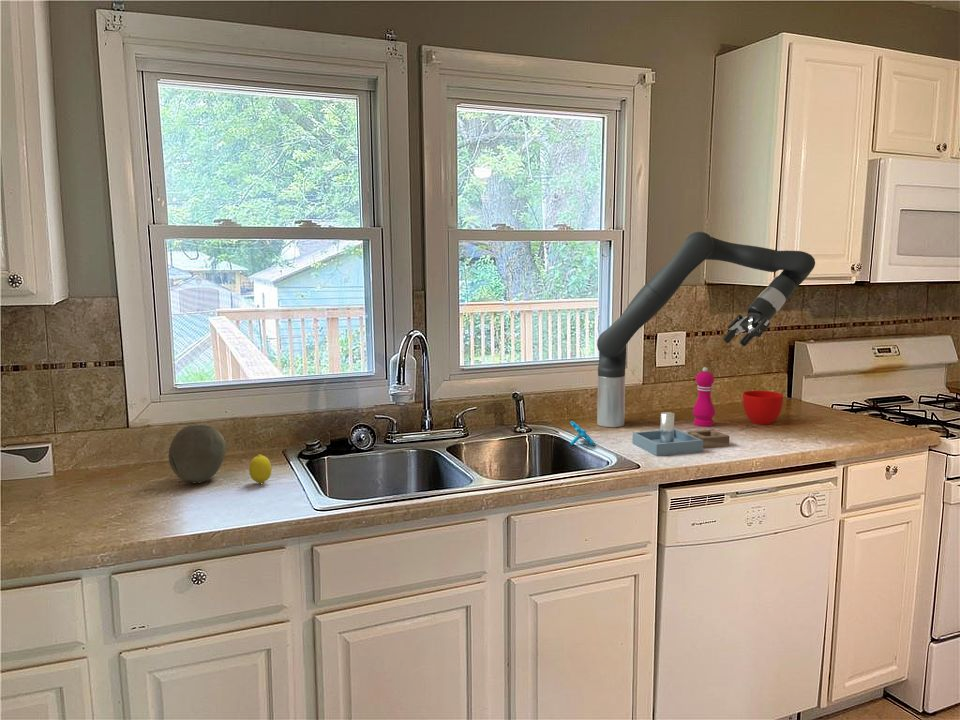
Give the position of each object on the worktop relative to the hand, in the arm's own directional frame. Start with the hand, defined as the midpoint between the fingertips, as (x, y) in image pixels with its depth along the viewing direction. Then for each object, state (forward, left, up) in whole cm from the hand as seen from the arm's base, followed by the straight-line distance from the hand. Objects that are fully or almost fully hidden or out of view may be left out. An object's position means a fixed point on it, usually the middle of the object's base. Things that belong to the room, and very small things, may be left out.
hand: (733, 343), depth 219 cm
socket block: (+2, -9, -31) cm, 32 cm away
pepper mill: (-20, +3, -31) cm, 37 cm away
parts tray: (+3, -24, -31) cm, 39 cm away
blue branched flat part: (-9, -46, -31) cm, 56 cm away
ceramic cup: (-18, +25, -31) cm, 44 cm away
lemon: (+2, -142, -31) cm, 145 cm away
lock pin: (+3, -24, -30) cm, 38 cm away
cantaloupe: (-6, -158, -31) cm, 161 cm away
